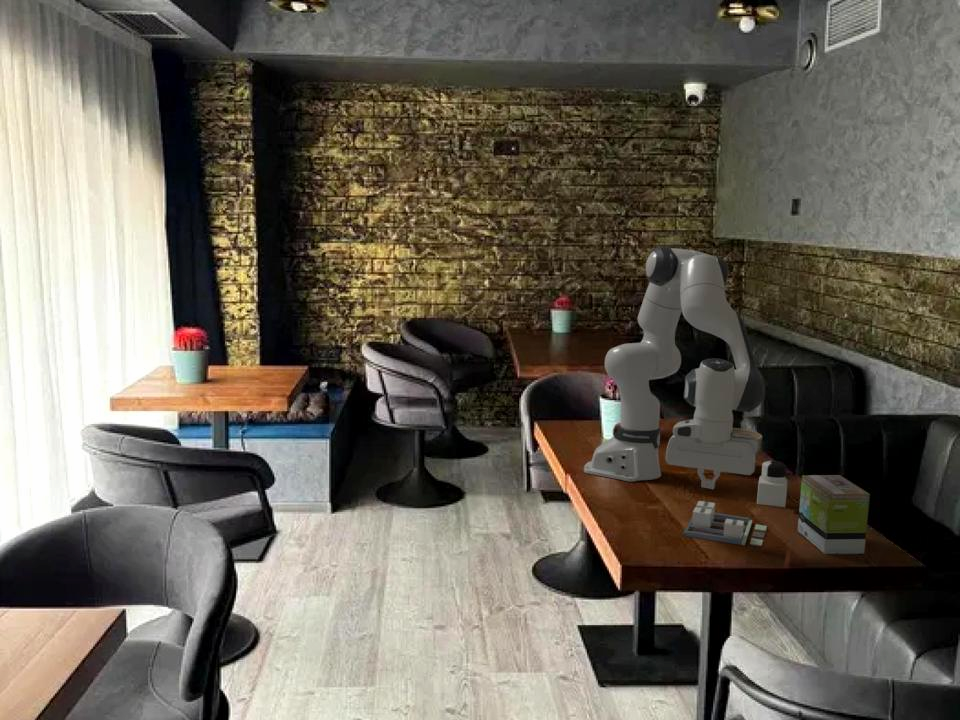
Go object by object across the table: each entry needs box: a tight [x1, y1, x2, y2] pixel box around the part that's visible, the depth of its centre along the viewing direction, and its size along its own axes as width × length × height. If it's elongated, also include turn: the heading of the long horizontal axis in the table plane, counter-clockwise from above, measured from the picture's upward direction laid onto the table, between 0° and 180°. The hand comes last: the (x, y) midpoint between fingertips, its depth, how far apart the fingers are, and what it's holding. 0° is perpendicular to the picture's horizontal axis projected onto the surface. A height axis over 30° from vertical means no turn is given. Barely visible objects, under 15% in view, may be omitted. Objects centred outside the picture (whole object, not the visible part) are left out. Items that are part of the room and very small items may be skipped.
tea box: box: [797, 474, 871, 555], centre depth 216 cm, size 15×10×15 cm
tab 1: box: [695, 500, 716, 521], centre depth 226 cm, size 4×4×4 cm
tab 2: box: [722, 519, 745, 540], centre depth 213 cm, size 4×4×4 cm
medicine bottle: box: [756, 460, 788, 508], centre depth 243 cm, size 7×7×12 cm
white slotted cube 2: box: [691, 506, 712, 528], centre depth 221 cm, size 4×4×4 cm
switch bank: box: [682, 512, 768, 547], centre depth 220 cm, size 23×18×2 cm
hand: (707, 487), depth 215 cm, fingers closed
